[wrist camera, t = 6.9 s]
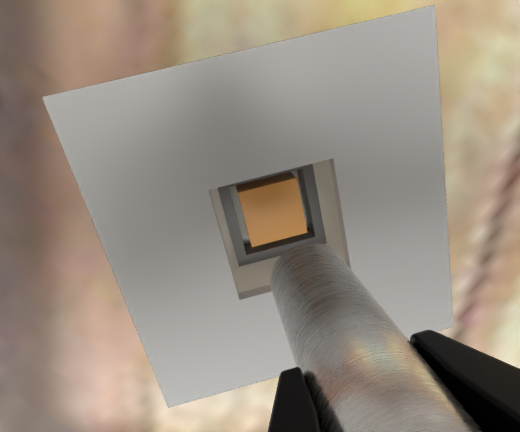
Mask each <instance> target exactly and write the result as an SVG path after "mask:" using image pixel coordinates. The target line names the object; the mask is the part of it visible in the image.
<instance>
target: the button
mask: <svg viewBox="0 0 520 432" xmlns="http://www.w3.org/2000/svg"><path fill="white" fill-rule="evenodd" d="M236 188H237V192H238V196H239V200H240V204H241V208H242V212H243V216H244V220H245V223H246V227H247V231H248V235H249V239H250V242H251V246H252V247H255V246H259V245H262V244H266V243H270V242H274V241H278V240H281V239H285V238H289V237H293V236H296V235H300V234H304V233H308V232H307V227H306V222H305V217H304V212H303V207H302V202H301V197H300V192H299V187H298V182H297V178H296V177H295V176H294V175H293V174H292V173H291V172H288V173H284V174H280V175H276V176H272V177H268V178H264V179H261V180H257V181H253V182H249V183H245V184H241V185H237V186H236Z"/></svg>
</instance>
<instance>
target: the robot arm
mask: <svg viewBox="0 0 520 432" xmlns="http://www.w3.org/2000/svg"><path fill="white" fill-rule="evenodd" d="M410 342H411V344H412V345H413V346H414V347H415V348H416V350H417V351H418V352H419V353H420V355H421V356H422V357H423V358H424V359H425V361H426V362H427V363H428V364H429V366H430V367H431V368H432V369H433V371H434V372H435V373H436V374H437V375H438V377H439V378H440V379H441V380H442V382H443V383H444V384H445V385H446V386H447V388H448V389H449V390H450V391H451V393H452V394H453V395H454V396H455V397H456V399H457V400H458V401H459V402H460V404H461V405H462V406H463V407H464V408H465V410H466V411H467V412H468V413H469V415H470V416H471V417H472V418H473V419H474V421H475V422H476V423H477V424H478V426H479V427H480V428H481V429H482V430H483V432H520V369H519V368H517V367H514V366H512V365H510V364H507V363H505V362H503V361H501V360H498V359H496V358H494V357H492V356H489V355H487V354H485V353H483V352H480V351H478V350H476V349H474V348H471V347H469V346H467V345H464V344H462V343H460V342H458V341H455V340H453V339H451V338H449V337H446V336H444V335H442V334H440V333H437V332H435V331H433V330H424V331H421V332H417V333H414V334H412V335H411V338H410ZM268 432H321V429H320V425H319V420H318V416H317V412H316V409H315V406H314V403H313V401H312V398H311V395H310V392H309V390H308V387H307V384H306V382H305V379H304V376H303V373H302V371H301V369H300V368H299V367H294V368H291V369H287V370H284V371H282V372H281V373H280V376H279V381H278V386H277V391H276V395H275V400H274V405H273V409H272V414H271V419H270V423H269V428H268Z"/></svg>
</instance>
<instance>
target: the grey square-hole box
mask: <svg viewBox="0 0 520 432" xmlns="http://www.w3.org/2000/svg"><path fill="white" fill-rule="evenodd" d="M42 98H43V101H44V103H45V106H46V108H47V111H48V113H49V116H50V118H51V120H52V123H53V125H54V128H55V130H56V133H57V135H58V138H59V140H60V143H61V145H62V148H63V150H64V152H65V155H66V157H67V160H68V162H69V165H70V167H71V170H72V172H73V175H74V177H75V180H76V182H77V184H78V187H79V189H80V192H81V194H82V197H83V199H84V202H85V204H86V207H87V209H88V212H89V214H90V216H91V219H92V221H93V224H94V226H95V229H96V231H97V234H98V236H99V239H100V241H101V244H102V246H103V249H104V251H105V253H106V256H107V258H108V261H109V263H110V266H111V268H112V271H113V273H114V276H115V278H116V281H117V283H118V285H119V288H120V290H121V293H122V295H123V298H124V300H125V303H126V305H127V308H128V310H129V313H130V315H131V317H132V320H133V322H134V325H135V327H136V330H137V332H138V335H139V337H140V340H141V342H142V345H143V347H144V349H145V352H146V354H147V357H148V359H149V362H150V364H151V367H152V369H153V372H154V374H155V377H156V379H157V382H158V384H159V386H160V389H161V391H162V394H163V396H164V399H165V401H166V404H167V406H168V408H170V407H173V406H177V405H180V404H184V403H187V402H191V401H194V400H198V399H201V398H205V397H208V396H212V395H215V394H219V393H222V392H226V391H229V390H233V389H236V388H240V387H243V386H247V385H250V384H254V383H257V382H261V381H264V380H268V379H271V378H275V377H279V376H280V373H281V372H282V371H284V370H287V369H291V368H294V367H296V364H295V361H294V358H293V355H292V352H291V349H290V346H289V343H288V340H287V337H286V334H285V331H284V328H283V325H282V321H281V318H280V315H279V312H278V309H277V306H276V303H275V300H274V297H273V294H272V291H271V287H270V277H271V272H272V269H273V267H274V265H275V263H276V262H277V260H278V259H279V258H280V257H281V256H282V255H283V254H284V253H285V252H286V251H288V250H289V249H291V248H293V247H295V246H298V245H301V244H305V243H319V244H323V245H326V246H328V247H330V248H332V249H333V250H335V251H336V252H337V253H338V254H339V255H340V257H341V258H342V259H343V260H344V262H345V263H346V264H347V265H348V266H349V268H350V269H351V270H352V271H353V273H354V274H355V275H356V276H357V277H358V279H359V280H360V281H361V282H362V284H363V285H364V286H365V287H366V289H367V290H368V291H369V292H370V293H371V295H372V296H373V297H374V298H375V300H376V301H377V302H378V303H379V304H380V306H381V307H382V308H383V309H384V311H385V312H386V313H387V314H388V315H389V317H390V318H391V319H392V320H393V322H394V323H395V324H396V325H397V326H398V328H399V329H400V330H401V331H402V333H403V334H404V335H405V336H406V337H407V339H408V340H409V339H410V338H411V335H412V334H414V333H417V332H421V331H424V330H433V331H435V332H437V331H440V330H444V329H447V328H451V327H453V311H452V294H451V276H450V259H449V242H448V224H447V207H446V189H445V172H444V154H443V137H442V119H441V102H440V84H439V67H438V49H437V32H436V14H435V5H432V6H428V7H424V8H419V9H415V10H411V11H407V12H402V13H398V14H394V15H390V16H385V17H381V18H377V19H373V20H368V21H364V22H360V23H356V24H351V25H347V26H343V27H339V28H334V29H330V30H326V31H322V32H317V33H313V34H309V35H305V36H300V37H296V38H292V39H288V40H283V41H279V42H275V43H271V44H266V45H262V46H258V47H253V48H249V49H245V50H241V51H236V52H232V53H228V54H224V55H219V56H215V57H211V58H207V59H202V60H198V61H194V62H190V63H185V64H181V65H177V66H173V67H168V68H164V69H160V70H156V71H151V72H147V73H143V74H139V75H134V76H130V77H126V78H122V79H117V80H113V81H109V82H105V83H100V84H96V85H92V86H88V87H83V88H79V89H75V90H71V91H66V92H62V93H58V94H54V95H49V96H45V97H42ZM288 172H291V173H292V174H293V175H294V176H295V177H296V178H297V182H298V187H299V192H300V197H301V202H302V207H303V212H304V217H305V222H306V227H307V232H308V233H304V234H300V235H296V236H293V237H289V238H285V239H281V240H278V241H274V242H270V243H266V244H262V245H259V246H255V247H252V246H251V242H250V239H249V235H248V231H247V227H246V223H245V220H244V216H243V212H242V208H241V204H240V200H239V196H238V192H237V188H236V186H237V185H241V184H245V183H249V182H253V181H257V180H261V179H264V178H268V177H272V176H276V175H280V174H284V173H288Z"/></svg>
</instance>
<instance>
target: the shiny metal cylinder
mask: <svg viewBox="0 0 520 432" xmlns="http://www.w3.org/2000/svg"><path fill="white" fill-rule="evenodd" d="M270 287H271V291H272V294H273V297H274V300H275V303H276V306H277V309H278V312H279V315H280V318H281V321H282V325H283V328H284V331H285V334H286V337H287V340H288V343H289V346H290V349H291V352H292V355H293V358H294V361H295V364H296V367H299V368H300V369H301V371H302V373H303V376H304V379H305V382H306V384H307V387H308V390H309V392H310V395H311V398H312V401H313V403H314V406H315V409H316V412H317V416H318V420H319V425H320V429H321V432H483V430H482V429H481V428H480V427H479V426H478V424H477V423H476V422H475V421H474V419H473V418H472V417H471V416H470V415H469V413H468V412H467V411H466V410H465V408H464V407H463V406H462V405H461V404H460V402H459V401H458V400H457V399H456V397H455V396H454V395H453V394H452V393H451V391H450V390H449V389H448V388H447V386H446V385H445V384H444V383H443V382H442V380H441V379H440V378H439V377H438V375H437V374H436V373H435V372H434V371H433V369H432V368H431V367H430V366H429V364H428V363H427V362H426V361H425V359H424V358H423V357H422V356H421V355H420V353H419V352H418V351H417V350H416V348H415V347H414V346H413V345H412V344H411V342H410V341H409V340H408V339H407V337H406V336H405V335H404V334H403V333H402V331H401V330H400V329H399V328H398V326H397V325H396V324H395V323H394V322H393V320H392V319H391V318H390V317H389V315H388V314H387V313H386V312H385V311H384V309H383V308H382V307H381V306H380V304H379V303H378V302H377V301H376V300H375V298H374V297H373V296H372V295H371V293H370V292H369V291H368V290H367V289H366V287H365V286H364V285H363V284H362V282H361V281H360V280H359V279H358V277H357V276H356V275H355V274H354V273H353V271H352V270H351V269H350V268H349V266H348V265H347V264H346V263H345V262H344V260H343V259H342V258H341V257H340V255H339V254H338V253H337V252H336V251H335V250H333V249H332V248H330V247H328V246H326V245H323V244H319V243H305V244H301V245H298V246H295V247H293V248H291V249H289V250H288V251H286V252H285V253H284V254H283V255H282V256H281V257H280V258H279V259H278V260H277V262H276V263H275V265H274V267H273V269H272V272H271V277H270Z"/></svg>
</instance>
